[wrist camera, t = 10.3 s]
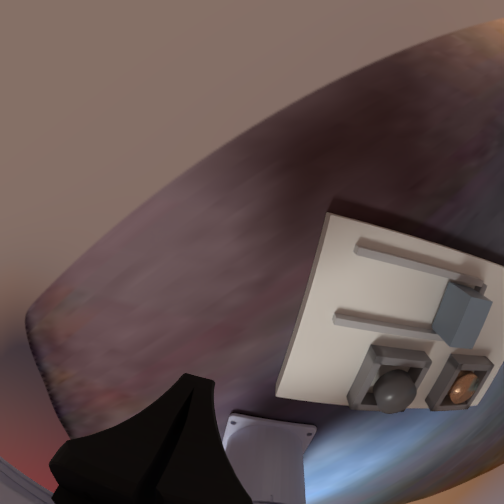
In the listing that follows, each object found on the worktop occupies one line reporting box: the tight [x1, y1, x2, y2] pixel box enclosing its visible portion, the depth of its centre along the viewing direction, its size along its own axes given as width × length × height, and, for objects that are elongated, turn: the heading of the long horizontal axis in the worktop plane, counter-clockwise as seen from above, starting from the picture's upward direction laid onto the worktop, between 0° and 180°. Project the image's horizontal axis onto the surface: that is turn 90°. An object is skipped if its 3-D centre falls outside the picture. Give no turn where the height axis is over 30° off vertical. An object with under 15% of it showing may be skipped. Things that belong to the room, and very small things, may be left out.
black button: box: [373, 369, 417, 414], centre depth 18 cm, size 3×3×2 cm
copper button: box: [447, 370, 479, 404], centre depth 19 cm, size 3×3×2 cm
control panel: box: [275, 212, 504, 412], centre depth 19 cm, size 14×22×3 cm, turn 78°
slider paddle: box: [431, 282, 493, 349], centre depth 16 cm, size 4×2×3 cm, turn 168°
